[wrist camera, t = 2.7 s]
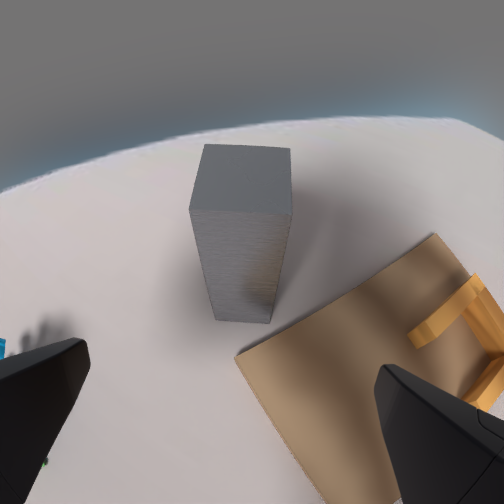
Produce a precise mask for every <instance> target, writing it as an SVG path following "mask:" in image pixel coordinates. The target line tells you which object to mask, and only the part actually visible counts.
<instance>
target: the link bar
mask: <svg viewBox="0 0 504 504" xmlns="http://www.w3.org/2000/svg"><path fill="white" fill-rule="evenodd" d="M189 213H190V218H191V222H192V226H193V231H194V235H195V239H196V244H197V248H198V252H199V256H200V261H201V265H202V269H203V273H204V277H205V281H206V285H207V289H208V293H209V297H210V301H211V304H212V308H213V312H214V316H215V320H220V321H234V322H248V323H265V324H269V322H270V317H271V313H272V308H273V304H274V299H275V295H276V290H277V286H278V281H279V276H280V272H281V267H282V262H283V257H284V253H285V248H286V243H287V238H288V233H289V228H290V223H291V218H292V189H291V159H290V148H280V147H265V146H247V145H220V144H205V145H204V149H203V153H202V157H201V161H200V164H199V168H198V172H197V176H196V180H195V184H194V189H193V193H192V197H191V201H190V206H189Z"/></svg>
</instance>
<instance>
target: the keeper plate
mask: <svg viewBox="0 0 504 504" xmlns="http://www.w3.org/2000/svg"><path fill="white" fill-rule="evenodd" d="M234 360H235V362H236V364H237V365H238V367H239V369H240V371H241V372H242V374H243V376H244V377H245V379H246V381H247V382H248V384H249V386H250V388H251V389H252V391H253V393H254V394H255V396H256V398H257V399H258V401H259V402H260V404H261V406H262V407H263V409H264V411H265V412H266V414H267V415H268V417H269V419H270V420H271V422H272V423H273V425H274V427H275V428H276V430H277V431H278V433H279V434H280V436H281V438H282V439H283V441H284V442H285V444H286V445H287V447H288V448H289V450H290V451H291V453H292V454H293V456H294V457H295V459H296V460H297V462H298V463H299V465H300V466H301V468H302V469H303V471H304V472H305V474H306V475H307V477H308V478H309V480H310V481H311V483H312V484H313V485H314V487H315V488H316V490H317V491H318V492H319V494H320V495H321V497H322V498H323V500H324V501H325V502H326V504H393V503H394V502H395V501H397V500H398V499H399V498H400V497H401V495H400V491H399V488H398V484H397V481H396V477H395V474H394V471H393V467H392V464H391V461H390V457H389V454H388V451H387V448H386V445H385V442H384V438H383V435H382V431H381V427H380V422H379V416H378V411H377V406H376V402H375V397H374V385H375V382H376V379H377V375H378V372H379V369H380V367H381V366H382V365H383V364H396V365H397V366H399V367H401V368H403V369H405V370H407V371H408V372H410V373H412V374H414V375H416V376H418V377H420V378H421V379H423V380H425V381H427V382H429V383H431V384H433V385H435V386H436V387H438V388H440V389H442V390H444V391H446V392H448V393H450V394H452V395H454V396H455V397H457V398H459V399H461V400H463V401H465V402H467V403H469V404H471V405H473V406H475V407H476V408H477V409H478V408H479V409H481V410H483V411H485V412H487V411H488V410H489V409H490V407H491V406H492V405H493V403H494V402H495V401H496V399H497V398H498V397H499V395H500V394H501V393H502V391H503V390H504V314H503V312H502V310H501V309H500V307H499V306H498V304H497V303H496V301H495V300H494V298H493V297H492V295H491V294H490V292H489V291H488V290H487V288H486V287H485V285H484V284H483V283H482V281H481V280H480V278H479V277H478V276H477V274H476V273H475V274H473V275H472V276H470V275H469V274H468V272H467V271H466V270H465V268H464V267H463V266H462V264H461V263H460V262H459V260H458V259H457V258H456V257H455V255H454V254H453V253H452V252H451V250H450V249H449V248H448V247H447V245H446V244H445V243H444V242H443V240H442V239H441V238H440V237H439V236H438V234H437V233H435V234H434V235H432V236H431V237H430V238H428V239H427V240H426V241H424V242H423V243H421V244H420V245H419V246H417V247H416V248H414V249H413V250H411V251H410V252H409V253H407V254H406V255H404V256H403V257H401V258H400V259H398V260H397V261H395V262H394V263H393V264H391V265H390V266H388V267H387V268H385V269H384V270H382V271H381V272H379V273H378V274H376V275H375V276H373V277H371V278H370V279H368V280H367V281H365V282H364V283H362V284H361V285H359V286H358V287H356V288H354V289H353V290H351V291H350V292H348V293H346V294H345V295H343V296H342V297H340V298H338V299H337V300H335V301H334V302H332V303H330V304H329V305H327V306H325V307H324V308H322V309H320V310H319V311H317V312H315V313H314V314H312V315H310V316H308V317H307V318H305V319H303V320H302V321H300V322H298V323H296V324H295V325H293V326H291V327H289V328H288V329H286V330H284V331H282V332H281V333H279V334H277V335H275V336H273V337H272V338H270V339H268V340H266V341H264V342H262V343H261V344H259V345H257V346H255V347H253V348H251V349H249V350H248V351H246V352H244V353H242V354H240V355H238V356H236V357H234Z"/></svg>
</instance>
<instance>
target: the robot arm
mask: <svg viewBox="0 0 504 504" xmlns="http://www.w3.org/2000/svg"><path fill="white" fill-rule="evenodd" d="M89 369H90V357H89V352H88V347H87V343H86V341H85V340H83V339H79V338H70V339H67V340H64V341H60V342H57V343H54V344H51V345H47V346H44V347H41V348H37V349H34V350H31V351H27V352H24V353H21V354H17V355H14V356H10V357H7V358H4V359H0V504H24V503H25V501H26V499H27V497H28V495H29V493H30V490H31V488H32V486H33V484H34V482H35V480H36V478H37V476H38V473H39V471H40V469H41V467H42V465H43V463H44V461H45V459H46V457H47V455H48V453H49V451H50V449H51V447H52V445H53V444H54V442H55V440H56V438H57V436H58V434H59V432H60V430H61V428H62V426H63V425H64V423H65V421H66V419H67V417H68V415H69V414H70V412H71V410H72V408H73V406H74V404H75V402H76V400H77V398H78V395H79V393H80V390H81V388H82V386H83V383H84V381H85V379H86V376H87V374H88V372H89ZM374 397H375V402H376V406H377V411H378V416H379V422H380V427H381V431H382V435H383V438H384V442H385V445H386V448H387V451H388V454H389V457H390V461H391V464H392V467H393V471H394V474H395V477H396V481H397V484H398V488H399V491H400V495H401V498H402V502H403V504H504V420H501V419H499V418H497V417H495V416H493V415H491V414H489V413H487V412H485V411H483V410H481V409H479V408H478V409H477V408H476V407H475V406H473V405H471V404H469V403H467V402H465V401H463V400H461V399H459V398H457V397H455V396H454V395H452V394H450V393H448V392H446V391H444V390H442V389H440V388H438V387H436V386H435V385H433V384H431V383H429V382H427V381H425V380H423V379H421V378H420V377H418V376H416V375H414V374H412V373H410V372H408V371H407V370H405V369H403V368H401V367H399V366H397V365H396V364H383V365H382V366H381V367H380V369H379V372H378V375H377V379H376V382H375V385H374Z"/></svg>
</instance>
